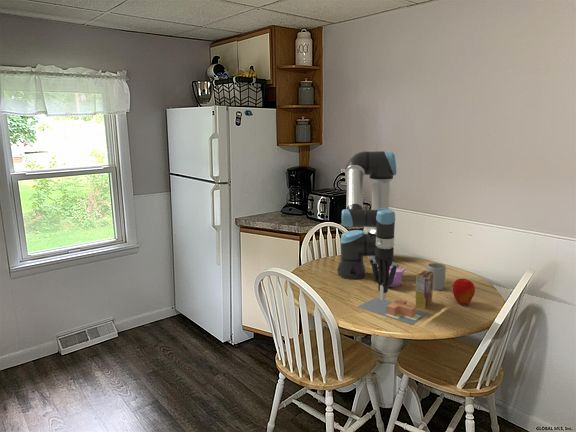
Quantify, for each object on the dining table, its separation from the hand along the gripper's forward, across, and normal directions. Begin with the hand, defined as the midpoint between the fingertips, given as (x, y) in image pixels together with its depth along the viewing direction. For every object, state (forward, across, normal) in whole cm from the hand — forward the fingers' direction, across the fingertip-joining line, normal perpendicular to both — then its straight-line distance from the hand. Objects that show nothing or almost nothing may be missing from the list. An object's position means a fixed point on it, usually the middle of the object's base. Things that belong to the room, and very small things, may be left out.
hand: (382, 298), depth 193 cm
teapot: (+5, -11, +25) cm, 28 cm away
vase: (+6, -42, +59) cm, 73 cm away
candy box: (+5, +13, +13) cm, 19 cm away
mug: (+5, +5, +40) cm, 41 cm away
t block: (+3, +10, -1) cm, 11 cm away
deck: (+4, +6, -1) cm, 7 cm away
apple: (+5, +24, +28) cm, 37 cm away
